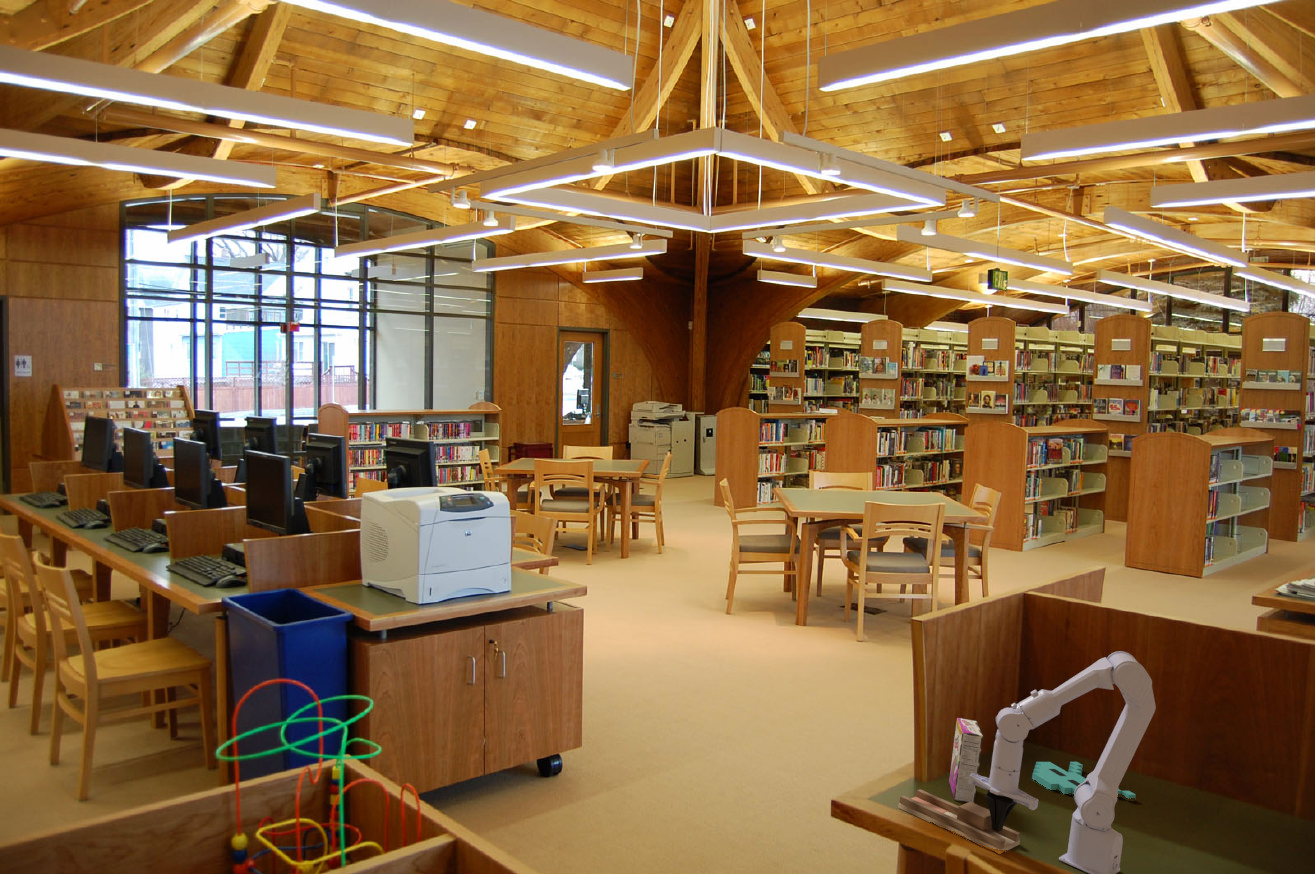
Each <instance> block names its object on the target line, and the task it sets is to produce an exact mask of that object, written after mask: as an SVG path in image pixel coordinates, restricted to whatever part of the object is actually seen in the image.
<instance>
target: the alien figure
mask: <svg viewBox="0 0 1315 874" xmlns="http://www.w3.org/2000/svg"><path fill="white" fill-rule="evenodd" d="M1083 767H1084V764H1081V763H1080V762H1078V761H1070V762H1069V767H1068V771H1066V770H1065V769H1063V768H1061V767H1059V766H1058V765H1056V764H1054V763H1052V762H1051V761H1035V765H1034V768H1033V772H1032V775H1031V780H1032V779H1033V780H1032V781H1034V780H1036V781H1037V782H1038V783H1039V784H1038V783H1037V782H1036V783H1037V784H1038V785H1040V784H1041V785H1040V786H1042V785H1043V786H1044V788H1045V787H1046V788H1045V789H1047V790H1048V789H1050V790H1056V789H1058V790H1059V791H1061V792H1062V793H1063V794H1062V793H1061V792H1060V793H1061V794H1062V795H1064V794H1069V793H1072V794H1074V791H1075V789H1076V788H1077V786H1078V785H1080V784H1081V783H1083V782H1084V781H1085V780H1086V778H1087V777H1086V778H1085V776H1082V773H1083V769H1082V768H1083ZM1043 786H1042V787H1043ZM1050 790H1049V791H1050ZM1059 791H1058V792H1059ZM1118 794H1122V795H1124V796H1125V797H1126V798H1128V799H1129V798H1130V799H1131V798H1135V799H1136V798H1137V797H1136V796H1137V795H1136V793H1134V792H1131V791H1130V790H1121V789H1120V788H1118ZM1069 795H1070V794H1069Z"/></svg>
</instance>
